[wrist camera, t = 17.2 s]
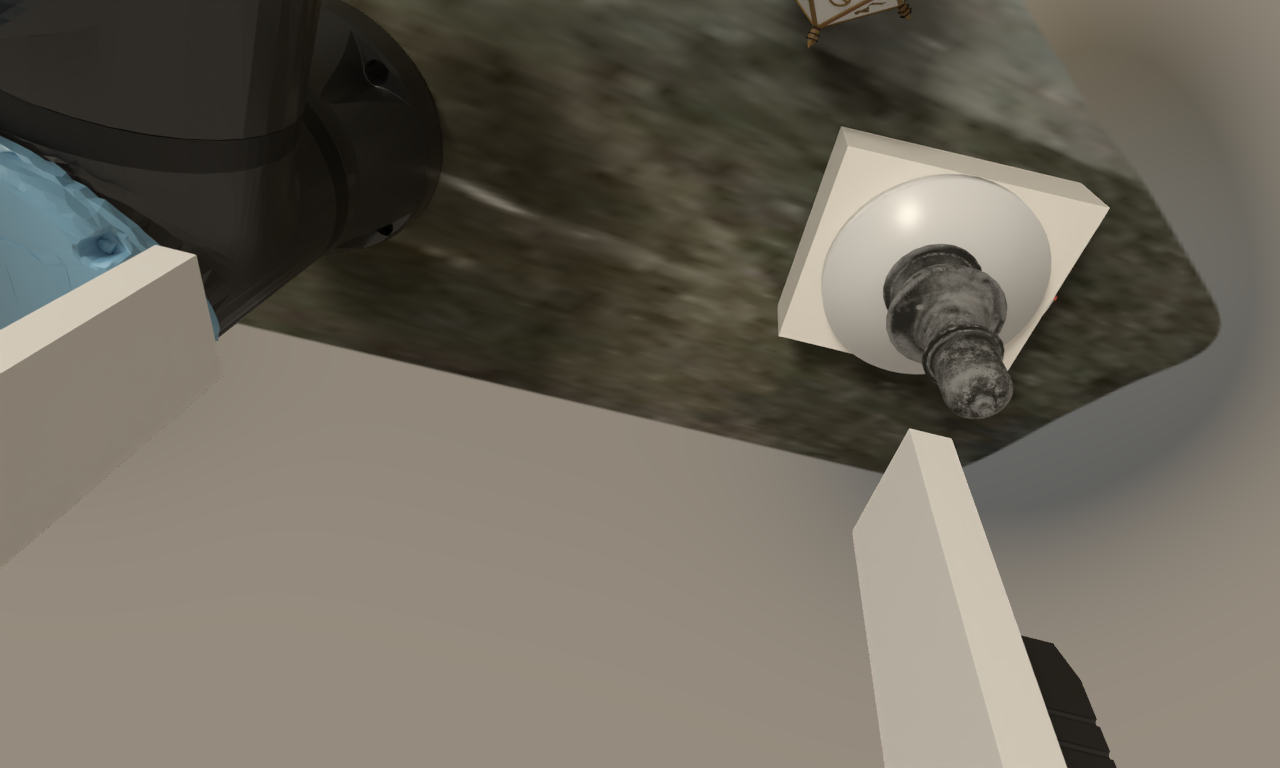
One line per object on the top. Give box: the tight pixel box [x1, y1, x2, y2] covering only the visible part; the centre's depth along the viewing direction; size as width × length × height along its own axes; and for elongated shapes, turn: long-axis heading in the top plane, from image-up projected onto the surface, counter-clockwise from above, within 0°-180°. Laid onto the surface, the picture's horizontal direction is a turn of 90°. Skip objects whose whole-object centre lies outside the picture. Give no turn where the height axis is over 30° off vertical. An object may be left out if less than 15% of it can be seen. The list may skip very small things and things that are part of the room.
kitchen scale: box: [778, 126, 1110, 374], centre depth 40 cm, size 14×12×5 cm
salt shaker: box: [883, 244, 1013, 419], centre depth 33 cm, size 6×6×12 cm
